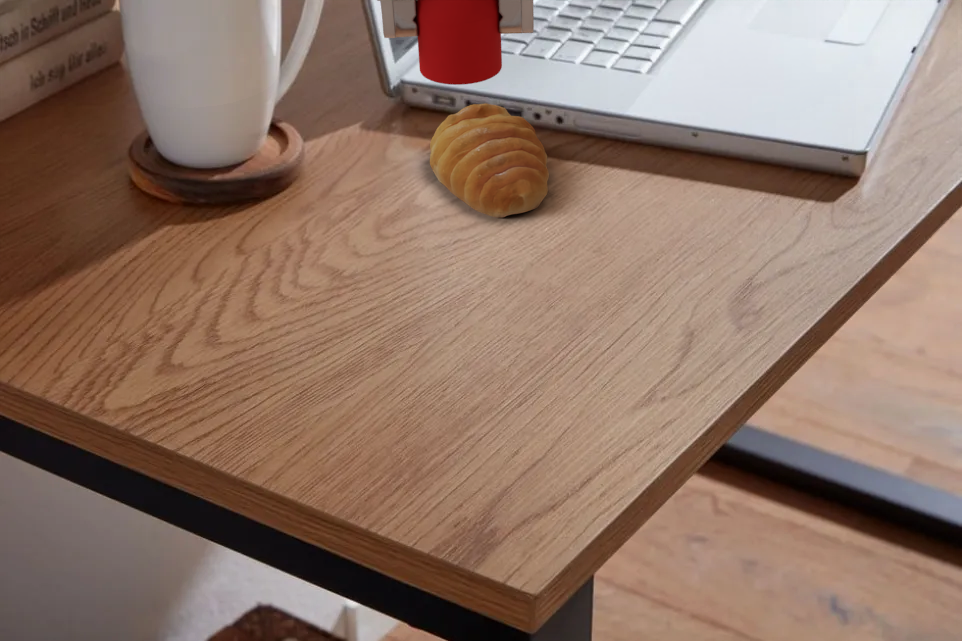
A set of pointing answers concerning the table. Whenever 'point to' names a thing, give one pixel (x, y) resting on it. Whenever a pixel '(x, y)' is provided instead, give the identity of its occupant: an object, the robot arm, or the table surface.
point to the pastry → (490, 160)
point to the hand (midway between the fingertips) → (458, 31)
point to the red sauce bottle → (459, 40)
